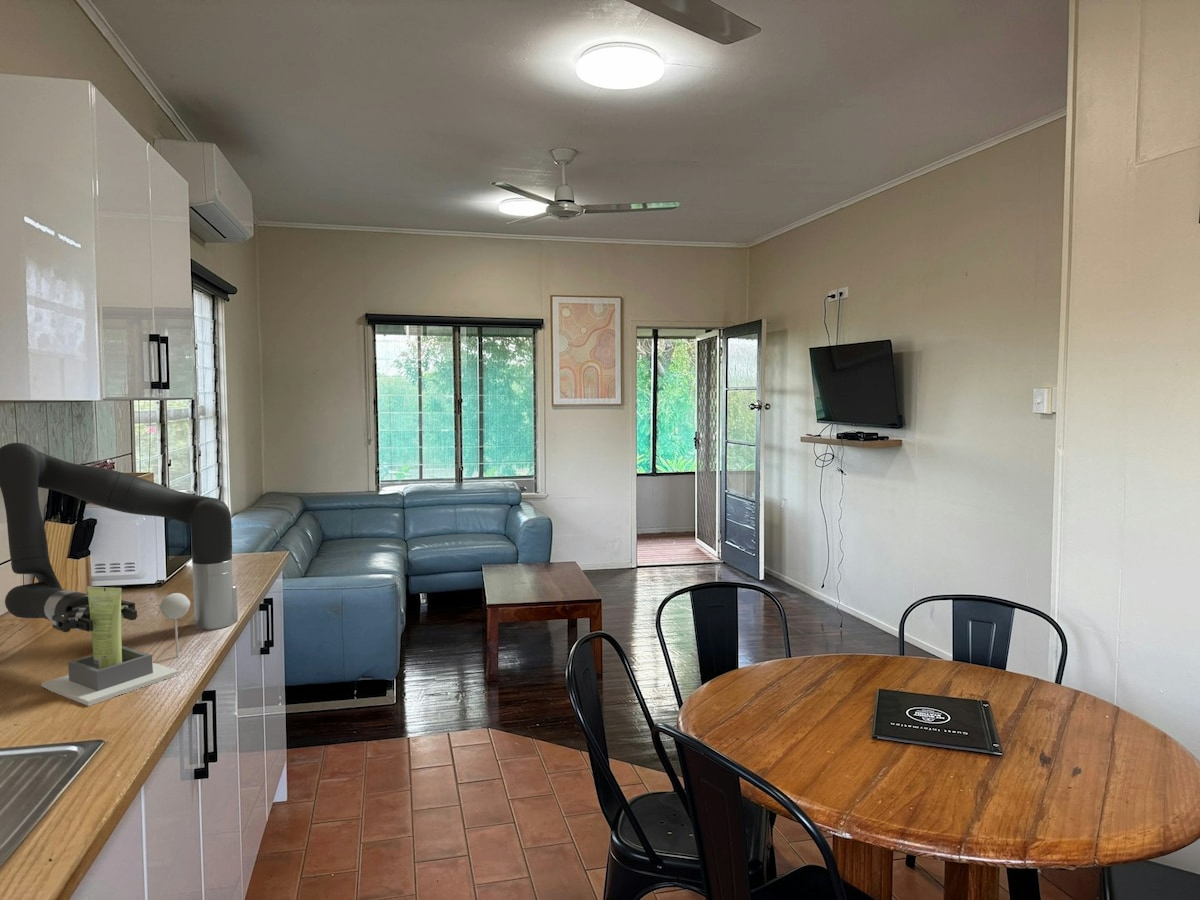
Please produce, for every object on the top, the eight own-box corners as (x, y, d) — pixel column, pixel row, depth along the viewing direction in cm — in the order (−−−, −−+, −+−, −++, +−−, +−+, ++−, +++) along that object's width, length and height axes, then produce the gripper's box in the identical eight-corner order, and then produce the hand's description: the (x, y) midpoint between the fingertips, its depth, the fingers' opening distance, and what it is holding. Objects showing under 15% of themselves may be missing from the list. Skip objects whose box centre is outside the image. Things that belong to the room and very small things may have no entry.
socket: (131, 659, 169) (130, 638, 169) (178, 675, 161) (177, 652, 160) (41, 687, 154) (40, 664, 153) (88, 706, 145) (87, 681, 144)
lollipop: (161, 663, 167) (158, 598, 166) (162, 654, 173) (159, 591, 171) (192, 658, 170) (189, 595, 169) (192, 650, 175) (190, 588, 174)
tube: (125, 669, 161) (118, 581, 159) (127, 676, 157) (121, 587, 155) (93, 675, 157) (87, 586, 155) (95, 683, 153) (88, 592, 151)
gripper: (34, 600, 156) (75, 612, 148) (106, 584, 169) (147, 594, 161) (36, 635, 157) (77, 648, 149) (107, 616, 169) (149, 628, 161)
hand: (113, 620), depth 155 cm, fingers open, 8 cm apart
